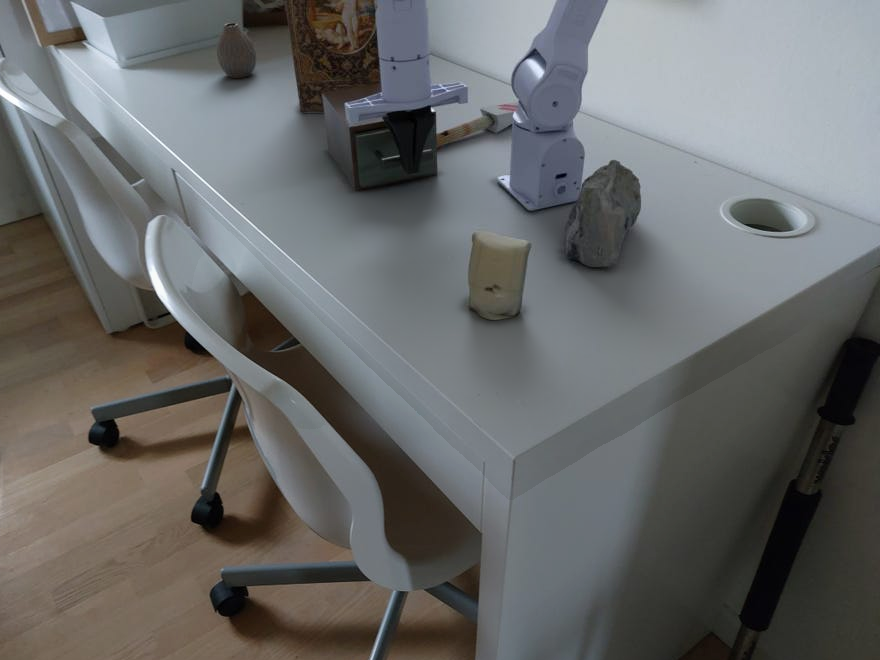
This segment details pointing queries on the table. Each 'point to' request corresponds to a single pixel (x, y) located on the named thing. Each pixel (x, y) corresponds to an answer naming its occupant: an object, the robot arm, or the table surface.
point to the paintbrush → (481, 123)
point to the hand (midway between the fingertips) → (411, 170)
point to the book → (332, 47)
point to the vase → (236, 52)
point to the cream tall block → (497, 274)
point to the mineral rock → (603, 215)
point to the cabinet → (352, 130)
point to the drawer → (388, 157)
